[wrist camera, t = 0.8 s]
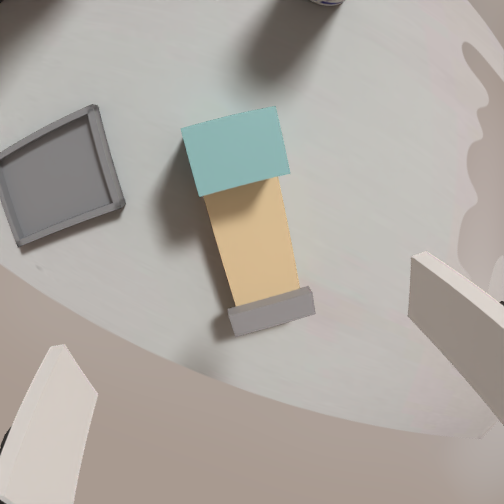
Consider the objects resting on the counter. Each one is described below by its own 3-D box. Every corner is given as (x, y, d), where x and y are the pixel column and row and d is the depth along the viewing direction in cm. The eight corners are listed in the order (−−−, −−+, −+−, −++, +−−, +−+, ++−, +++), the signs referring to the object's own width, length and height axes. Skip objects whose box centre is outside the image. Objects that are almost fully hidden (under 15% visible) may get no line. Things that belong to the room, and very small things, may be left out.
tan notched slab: (192, 187, 26) (191, 196, 22) (279, 165, 26) (290, 170, 23) (233, 321, 31) (237, 343, 28) (305, 300, 32) (316, 320, 28)
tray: (-3, 157, 21) (-11, 159, 20) (98, 105, 22) (92, 104, 20) (25, 242, 25) (18, 247, 23) (125, 203, 25) (121, 207, 24)
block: (187, 130, 24) (180, 128, 17) (257, 112, 24) (275, 105, 18) (200, 180, 26) (199, 196, 19) (269, 162, 26) (290, 173, 19)
